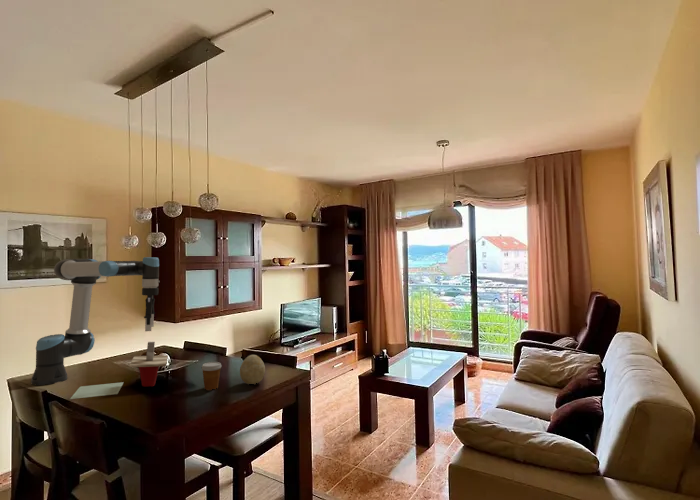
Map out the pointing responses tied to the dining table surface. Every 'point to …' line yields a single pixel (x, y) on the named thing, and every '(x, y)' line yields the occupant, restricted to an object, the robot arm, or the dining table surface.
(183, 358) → the dining table surface
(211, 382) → the disposable coffee cup
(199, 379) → the dining table surface
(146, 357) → the cover
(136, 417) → the dining table surface
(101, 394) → the mat
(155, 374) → the plastic cup
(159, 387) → the dining table surface
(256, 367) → the fossilized egg
